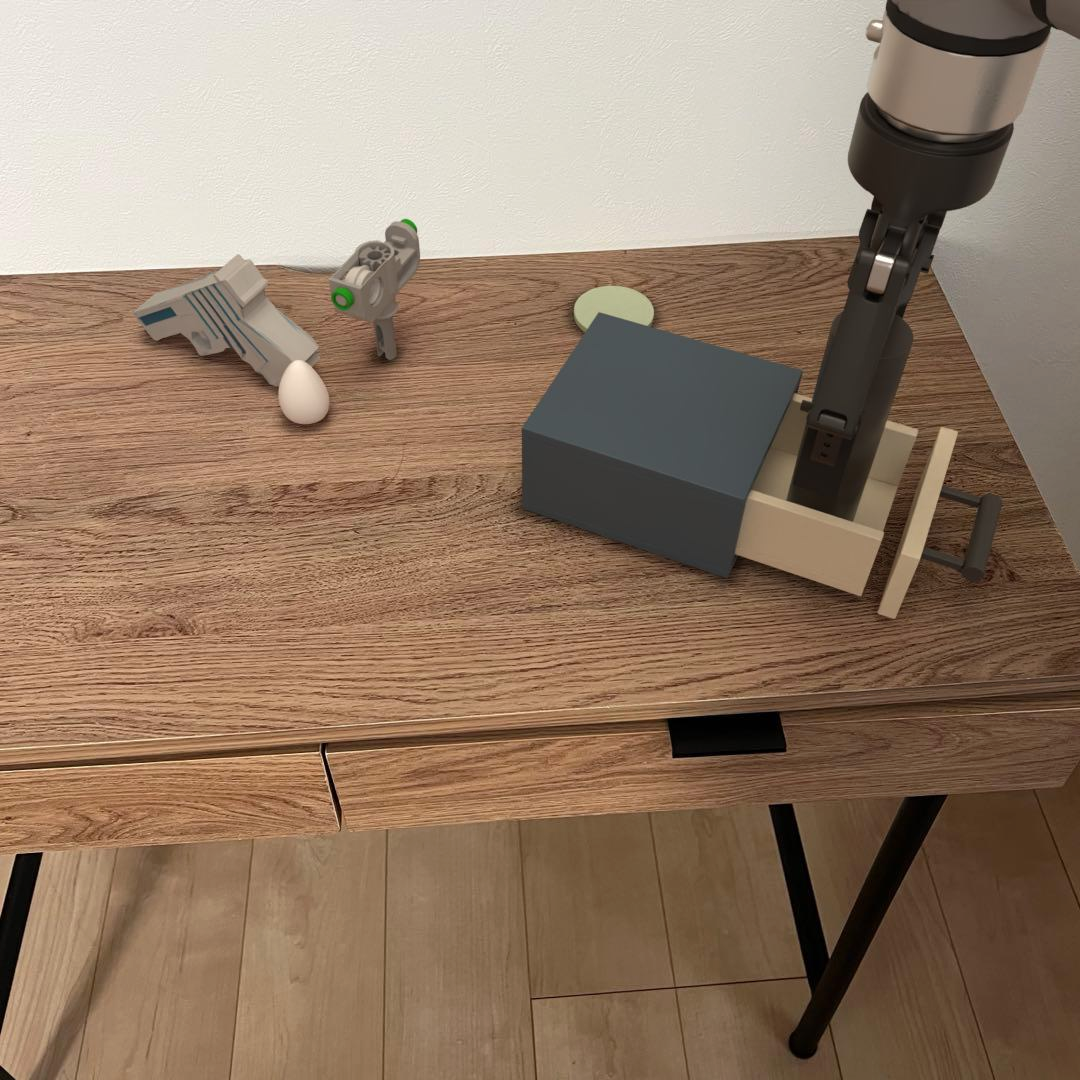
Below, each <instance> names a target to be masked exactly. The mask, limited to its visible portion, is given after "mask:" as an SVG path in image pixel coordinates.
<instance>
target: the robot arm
mask: <svg viewBox="0 0 1080 1080" xmlns="http://www.w3.org/2000/svg"><path fill="white" fill-rule="evenodd" d="M885 2H886V3H885V9H884V12H883V15H882V19H872V20H871V21H870V22H869V23H868V25H867V27H866V28H865V37H866V39H867V40H868V41H870V42H873V43H876V44H878V46H877V47H876V48H875V51H874V52H873V56H872V60H871V64H870V69H869V73H868V75H867V76H868V77H867V81H866V88H867V92H866V93H865V94H864V95H863V97H862V98H861V101H860V103H859V108H858V112H857V114H856V115H857V116H856V119H855V123H854V126H853V132H852V135H851V140H850V144H849V148H848V152H847V166H848V169H849V171H850V174H851V176H852V177H853V179H854V181H855V182H856V183H858V185H859V186H860V187H861V188H862V189H863V190H865V191H866V192H868V193H869V194H870V195H871V196H873V198H872V201H871V206H870V208H866V211H865V213H864V216H863V218H862V221H861V225H860V227H859V231H858V240H859V246H858V248H857V252H856V255H855V258H854V261H853V264H852V265H851V269H850V273H849V275H848V279H847V283H846V284H847V288H848V290H849V291H848V295H847V298H846V301H845V304H844V307H843V310H842V312H843V313H842V316H841V319H840V322H839V326H838V329H837V332H836V335H835V338H834V341H833V344H832V347H831V351H830V354H829V357H828V360H827V363H826V366H825V369H824V372H823V376H822V379H821V382H820V385H819V388H818V391H817V394H816V397H815V401H814V403H813V402H810V401H806V400H802V403H801V406H800V411H804V412H807V413H808V415H807V418H806V420H807V422H806V424H807V427H808V430H807V433H806V437H805V441H804V444H803V448H802V451H801V455H800V459H799V462H798V466H797V470H796V473H795V477H794V481H793V485H796V486H799V487H802V488H805V489H808V490H812V491H815V492H818V493H821V494H824V495H827V496H830V497H833V498H836V497H837V495H838V492H839V489H840V486H841V483H842V480H843V477H844V474H845V471H846V468H847V465H848V462H849V459H850V455H851V452H852V449H853V446H854V443H855V440H856V437H857V434H858V431H859V428H860V425H861V422H862V418H863V415H864V412H865V411H862V409H863V406H864V403H865V400H866V397H867V394H868V391H869V388H870V386H871V383H872V380H873V377H874V374H875V371H876V368H877V365H878V363H879V360H880V357H881V354H882V351H883V348H884V345H885V343H886V340H887V337H888V334H889V331H890V328H891V325H892V322H893V320H894V317H895V314H896V315H898V316H899V317H901V318H902V319H903V320H904V316H905V313H906V309H907V307H908V304H909V303H910V302H911V299H912V297H913V294H914V292H915V288H916V286H917V283H918V279H919V278H920V275H921V273H924V274H927V275H928V274H929V272H930V269H931V267H932V265H933V264H932V263H933V261H934V258H935V254H933V251H934V248H935V245H936V243H937V240H938V237H939V234H940V231H941V229H942V227H943V224H944V221H945V218H946V216H947V213H948V212H952V211H957V210H962V209H964V208H967V207H970V206H972V205H974V204H976V203H978V202H980V201H982V199H984V198H985V197H986V196H987V195H988V194H989V193H990V192H991V190H992V189H993V187H994V185H995V183H996V179H997V178H998V174H999V172H1000V169H1001V166H1002V164H1003V161H1004V159H1005V156H1006V153H1007V150H1008V148H1009V145H1010V142H1011V139H1012V137H1013V134H1014V130H1015V126H1014V125H1015V124H1014V122H1016V121H1017V119H1019V117H1020V115H1021V114H1022V113H1023V110H1024V108H1025V105H1026V102H1027V101H1028V100H1027V99H1028V96H1029V94H1030V91H1031V89H1032V86H1033V83H1034V80H1035V77H1036V74H1037V72H1038V69H1039V67H1040V64H1041V61H1042V58H1043V57H1044V53H1045V50H1046V47H1047V44H1048V42H1049V39H1050V36H1051V34H1052V31H1051V30H1052V29H1054V30H1058V31H1061V32H1064V33H1066V34H1068V35H1070V36H1072V37H1074V38H1076V39H1078V40H1080V0H886V1H885Z"/></svg>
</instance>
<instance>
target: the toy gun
mask: <svg viewBox="0 0 1080 1080" xmlns="http://www.w3.org/2000/svg"><path fill="white" fill-rule="evenodd" d="M269 284H270V283H269V281H268V280H267V279H266V278H265V277H264V276H263V275H262V273H261V272H260V270H259V269H258V268H257V266H256V265H255V264H254V262H253V260H251V259H250V258H248V259H244V258H243V256H242V255H240V253H237V254H235V256H233V257H232V258H231V259H230V260H229V261H228V262H226V264H224V265H223V266H222V267H221V268H219V269H216V270H214V271H211V272H209V273H208V274H205V275H203V276H199V277H196V278H194V279H191V280H189V281H185V282H183V283H180V284H177V285H174V286H172V287H168V288H166V289H164V290H161V291H158V292H155V293H154V294H153V295H151V297H149V298H148V299H147V300H146V301H145V302H143V303H142V304H141V305H140V306H138V308H136V309H135V310H133V312H132V315H133V317H134V318H135V319H136V320H137V321H138V323H139V324H140V325H141V326H142V327H143V328H144V330H145V331H146V332H147V333H148V335H149V336H150V338H151V339H152V340H154V341H157V342H158V341H160V340H161V339H165V338H168V337H171V336H175V335H179V334H181V335H182V336H183V337H185V338H186V339H188V340H189V341H190V343H191V344H192V345H193V347H194V349H195V350H196V352H197V354H198V355H199V356H201V357H203V356H208V355H213V354H218V353H223V352H224V351H225V350H227V349H233V350H234V351H235V352H236V354H237V355H238V356H239V357H240V359H241V360H242V361H244V362H246V363H247V364H249V365H250V366H251V367H252V369H253V370H254V371H255V373H256V374H259V375H261V376H262V377H263V378H264V379H265V381H267V383H268V384H269V385H271V386H273V387H276V388H277V387H278V388H279V385H280V381H281V379H282V376H283V374H284V372H285V370H286V369H287V367H288V366H289V365H290V364H291V363H292V362H293V361H295V360H302V361H304V362H306V363H308V364H309V365H310V366H311V367H312V368H313V367H314V366H315V365H316V364H317V362H318V361H320V359H321V356H320V355H319V353H317V352H318V350H319V349H320V346H319V344H318V343H317V342H316V340H315V339H314V338H313V337H312V335H310V334H309V333H308V332H306V331H305V330H304V329H303V328H302V327H300V326H299V325H298V324H297V323H295V322H294V321H293V320H291V319H290V318H289V317H288V316H287V315H286V314H284V312H282V311H281V310H280V309H279V308H277V307H276V305H274V304H273V303H272V302H271V300H270V299H269V298H268V296H267V295H266V291H265V289H266V288H267V287H268V286H269Z"/></svg>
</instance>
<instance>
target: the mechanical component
mask: <svg viewBox="0 0 1080 1080" xmlns="http://www.w3.org/2000/svg"><path fill="white" fill-rule="evenodd" d="M384 238H385V241H380V240H368V241H366V242H362V243H361V244H359V245H358V246H357V247H356V248H355V250H354V252H353V254H352V255H350V257H348V259H346V261H345V262H343V264H342V265H341V266H340V267H339V268H338V269H337V270H336V271H335V272H334V273H333V274H332V275H331V277H329V278H328V283H329V290H330V299H331V303H332V304H333V305H334V310H335V312H337V313H338V314H340V315H345V316H348V317H351V318H354V319H357V320H361V321H364V322H367V323H373V330H374V338H375V346H376V353H377V357H381V356H382V355H383V354H385V355H384V356H385V359H387V360H388V361H392V360H394V359H395V358H396V357H397V356H398V352H397V351H398V350H397V342H396V334H395V326H394V325H395V324H394V316H395V315H396V314H397V313H398V311H399V304H398V302H397V299H396V296H397V295H398V294H399V293H400V292H401V291H402V289H403V288H404V287H405V286H406V285H407V284H408V283H409V282H410V280H411V279H412V278H413V277H414V276H415V274H416V273H417V271H418V269H419V266H420V263H421V249H420V239H419V235H418V227H417V225H416V224H415V222H414V221H412V220H411V219H409V218H402V219H401V220H400V221H398V220H397V221H396V220H395V221H393V222H391V224H389V225H388V226H387V228H386V229H385V232H384ZM347 272H348V273H347ZM346 273H347V274H346ZM344 277H345V278H344Z"/></svg>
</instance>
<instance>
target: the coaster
mask: <svg viewBox="0 0 1080 1080" xmlns="http://www.w3.org/2000/svg"><path fill="white" fill-rule="evenodd" d="M598 312H601V313H604V314H608V315H611V316H615V317H618V318H622V319H625V320H629V321H632V322H636V323H639V324H643V325H646V326H650V327H652V325H653V323H654V319H655V318H654V317H655V307H654V306H653V303H652V301H650V299H649V298H648V297H646V295H644V294H643V293H642V292H640V291H638V290H635V289H633V288H631V287H627V286H620V285H603V286H598V287H594V288H592V289H589V290H587V291H585V292H584V293H582V294H581V295H580V296H579V297H578V298H577V299H576V301H575V303H574V306H573V319H574V322H575V325H577V327H578V328H579V329H580V330H581V331H582V332H583V333H585V332H586V330H587V329H588V327H589V326H590V324H591V323H592V321H593V320H594V318H595V317H596V315H597V314H598Z"/></svg>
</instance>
